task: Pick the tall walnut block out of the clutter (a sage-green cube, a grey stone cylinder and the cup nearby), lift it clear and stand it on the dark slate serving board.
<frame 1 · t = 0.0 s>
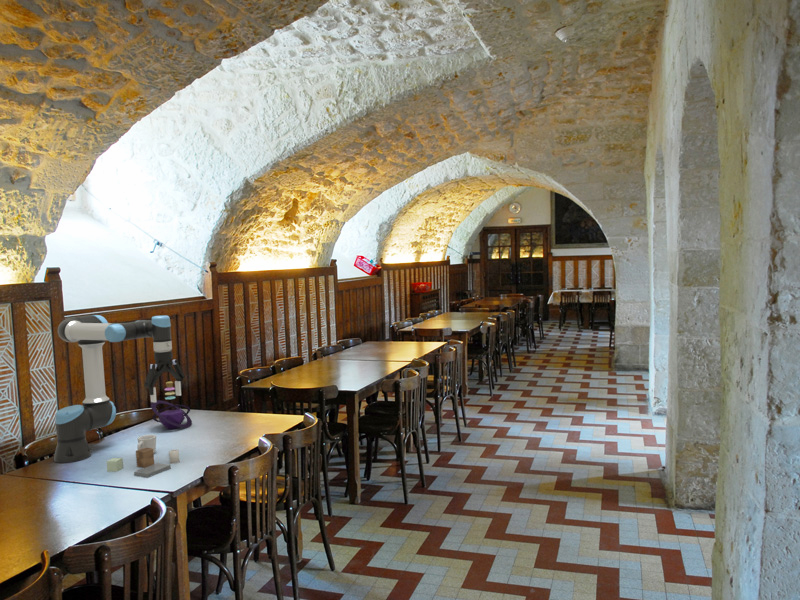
hand: (166, 398, 272), 28 cm above the table, fingers open, 13 cm apart
stone cylinder: (174, 462, 272), on the table
decorative bottle: (172, 428, 332), on the table
cup: (146, 455, 285), on the table
slate board: (152, 471, 260), on the table
sage cube: (115, 469, 265), on the table
walnut block: (145, 465, 269), on the table
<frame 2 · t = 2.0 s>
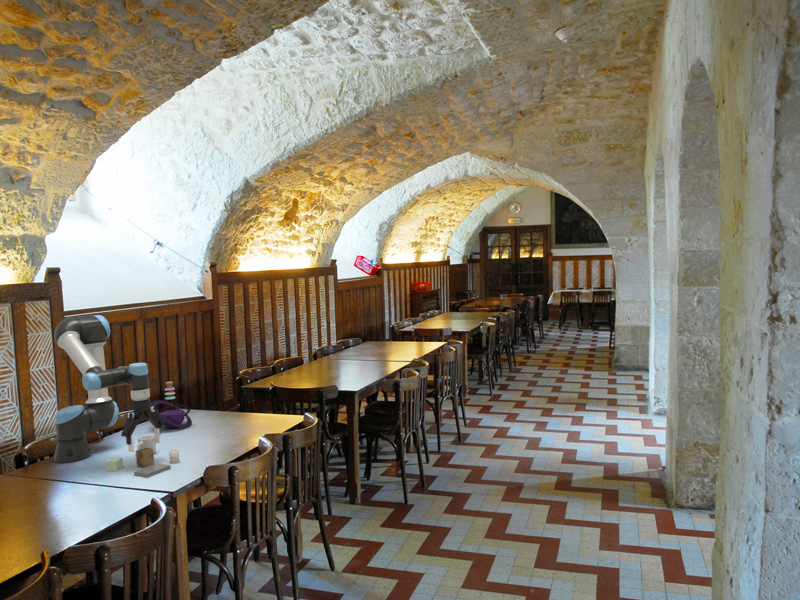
hand: (144, 447, 269), 8 cm above the table, fingers open, 13 cm apart
nothing on the table moved.
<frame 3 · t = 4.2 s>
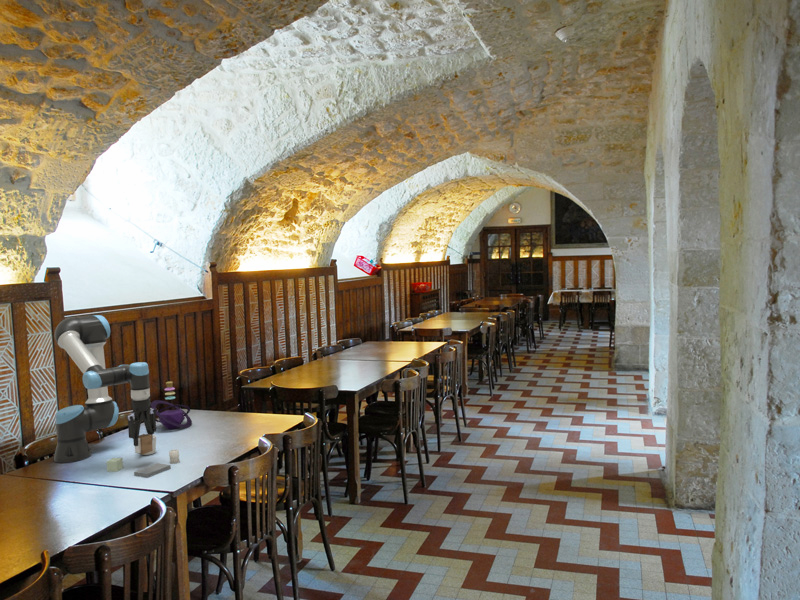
hand: (143, 450, 269), 6 cm above the table, fingers closed on walnut block, 5 cm apart
walnut block: (144, 451, 269), point 6 cm above the table, touching gripper
everything else where it was.
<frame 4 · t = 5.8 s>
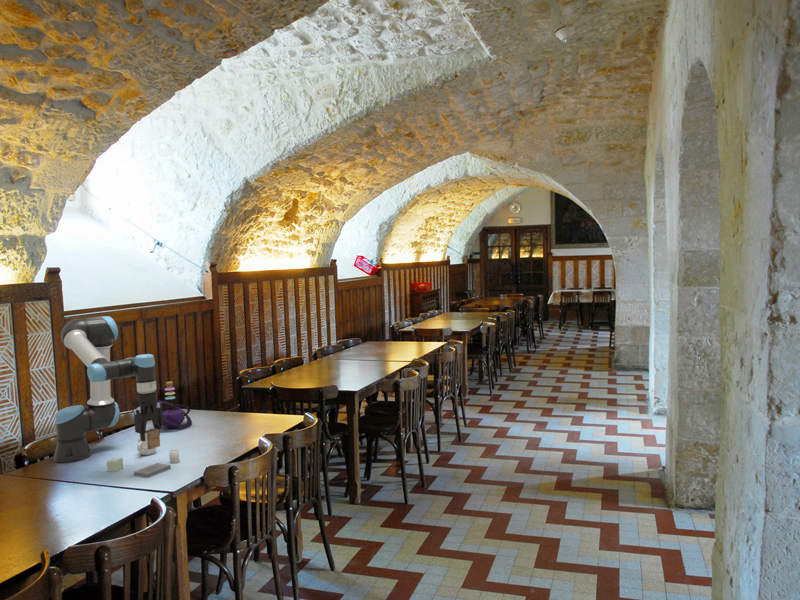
hand: (150, 446, 259), 11 cm above the table, fingers closed on walnut block, 5 cm apart
walnut block: (151, 447, 259), point 11 cm above the table, touching gripper
everything else where it was.
when the fingers open (2 cm above the table, at t = 7.5 s): walnut block stays where it is, resting on slate board.
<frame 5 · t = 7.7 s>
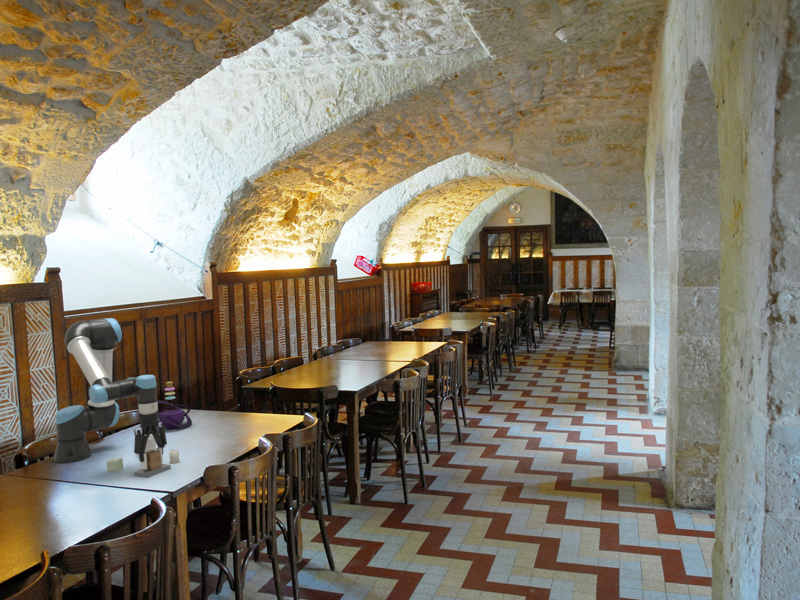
hand: (152, 465, 260), 3 cm above the table, fingers open, 7 cm apart
walnut block: (152, 468, 260), point 1 cm above the table, touching slate board
everything else where it was.
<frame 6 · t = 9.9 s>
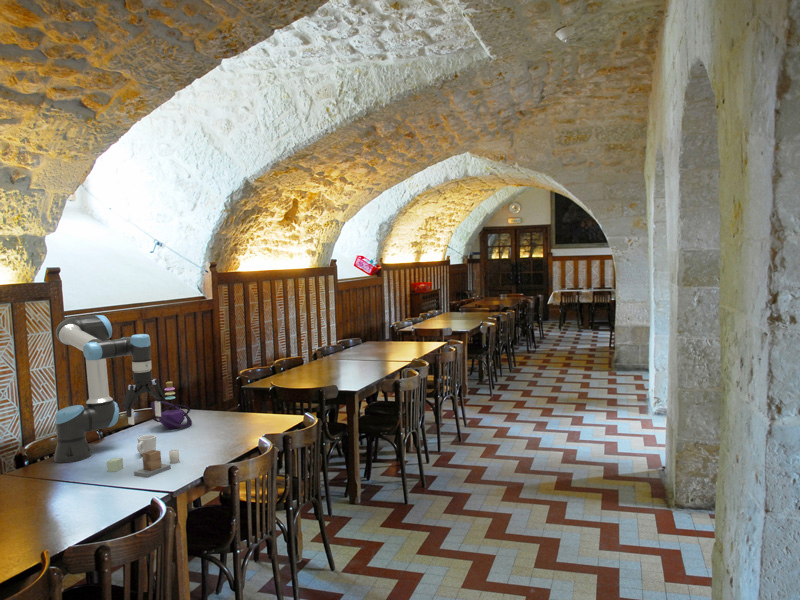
hand: (145, 420, 263), 21 cm above the table, fingers open, 13 cm apart
nothing on the table moved.
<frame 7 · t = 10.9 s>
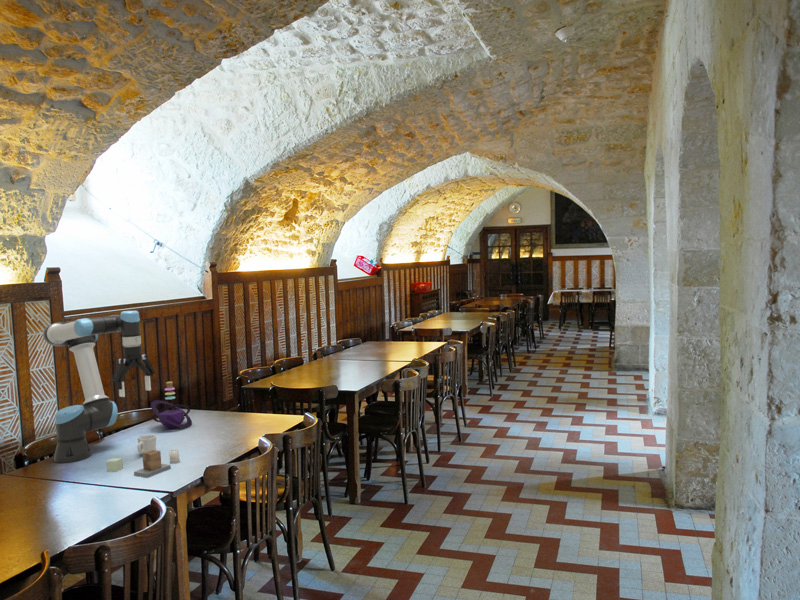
hand: (135, 393, 273), 31 cm above the table, fingers open, 13 cm apart
nothing on the table moved.
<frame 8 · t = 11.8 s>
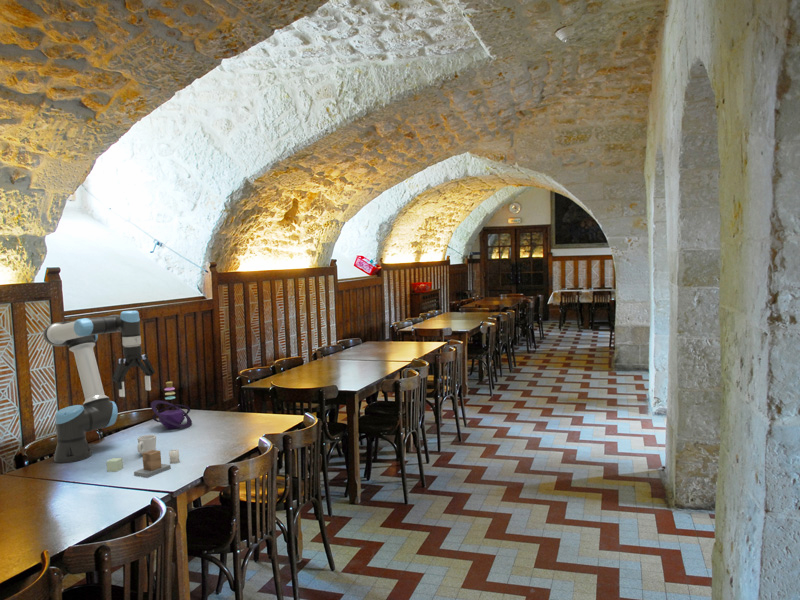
hand: (135, 393, 273), 31 cm above the table, fingers open, 13 cm apart
nothing on the table moved.
at the end: walnut block inside the target area on the slate board (0.1 cm from its centre), point 1.5 cm above the slate board's base; walnut block tilted 0°; the gripper is holding nothing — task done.
